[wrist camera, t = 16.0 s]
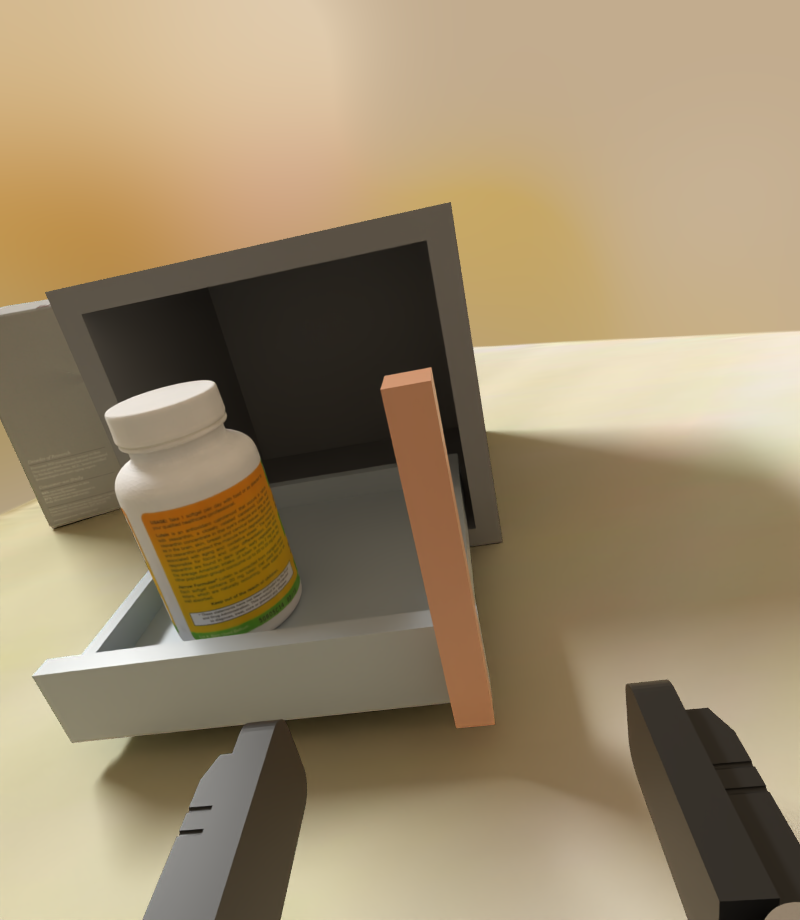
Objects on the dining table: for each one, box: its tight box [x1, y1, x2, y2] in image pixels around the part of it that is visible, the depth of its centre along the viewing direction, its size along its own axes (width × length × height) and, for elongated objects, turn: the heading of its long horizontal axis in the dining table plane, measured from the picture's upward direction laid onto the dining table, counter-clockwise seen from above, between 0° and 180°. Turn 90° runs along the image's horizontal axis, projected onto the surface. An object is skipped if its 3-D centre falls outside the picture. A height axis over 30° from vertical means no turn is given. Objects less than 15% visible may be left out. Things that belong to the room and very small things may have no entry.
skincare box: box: [0, 300, 121, 528], centre depth 43 cm, size 8×7×16 cm
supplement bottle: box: [105, 380, 302, 641], centre depth 22 cm, size 5×5×10 cm
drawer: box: [32, 367, 495, 743], centre depth 24 cm, size 15×16×11 cm
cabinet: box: [45, 202, 502, 547], centre depth 34 cm, size 18×16×16 cm
